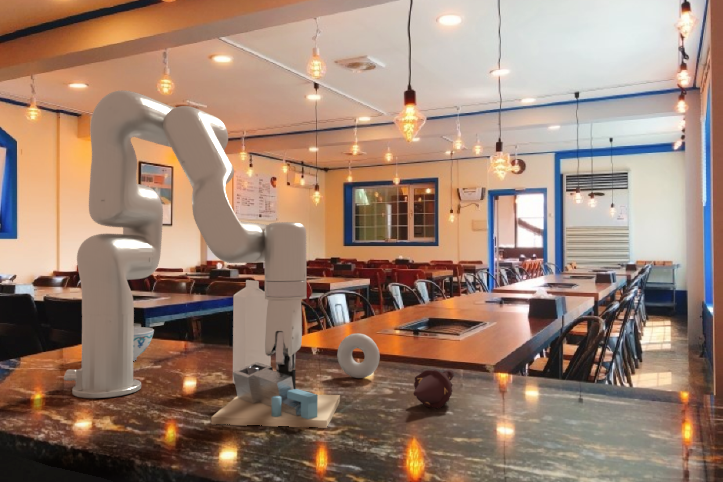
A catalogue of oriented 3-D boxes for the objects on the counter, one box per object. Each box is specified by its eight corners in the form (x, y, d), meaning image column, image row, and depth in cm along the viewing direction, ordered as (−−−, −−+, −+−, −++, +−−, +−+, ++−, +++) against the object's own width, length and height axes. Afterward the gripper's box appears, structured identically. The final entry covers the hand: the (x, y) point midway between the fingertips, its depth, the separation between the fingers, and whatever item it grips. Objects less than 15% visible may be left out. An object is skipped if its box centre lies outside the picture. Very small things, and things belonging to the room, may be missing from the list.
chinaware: (139, 367, 137) (139, 335, 137) (78, 366, 137) (78, 335, 137) (162, 355, 152) (162, 327, 152) (106, 355, 152) (107, 326, 152)
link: (237, 397, 104) (232, 372, 103) (261, 386, 107) (256, 362, 106) (291, 419, 92) (285, 390, 91) (315, 406, 95) (310, 378, 94)
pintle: (245, 399, 103) (245, 368, 103) (249, 396, 105) (249, 366, 105) (257, 400, 102) (257, 369, 103) (260, 397, 105) (260, 366, 105)
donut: (334, 377, 126) (334, 332, 126) (340, 374, 129) (341, 330, 130) (376, 381, 122) (376, 335, 123) (381, 378, 126) (382, 333, 126)
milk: (244, 389, 116) (244, 281, 116) (232, 383, 121) (232, 280, 121) (271, 384, 120) (271, 280, 120) (258, 379, 124) (258, 279, 125)
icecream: (439, 382, 95) (471, 374, 107) (401, 366, 99) (437, 360, 111) (428, 421, 95) (461, 408, 108) (391, 404, 99) (427, 393, 112)
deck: (211, 424, 92) (211, 416, 92) (241, 398, 108) (241, 392, 108) (326, 428, 90) (326, 420, 90) (339, 401, 106) (339, 395, 106)
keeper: (269, 422, 93) (269, 393, 93) (294, 416, 97) (294, 388, 97) (292, 431, 89) (292, 400, 89) (317, 424, 92) (317, 394, 92)
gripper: (275, 288, 110) (275, 382, 110) (254, 293, 95) (254, 403, 95) (313, 288, 109) (313, 383, 109) (298, 293, 95) (298, 404, 94)
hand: (286, 392), depth 102 cm, fingers closed
